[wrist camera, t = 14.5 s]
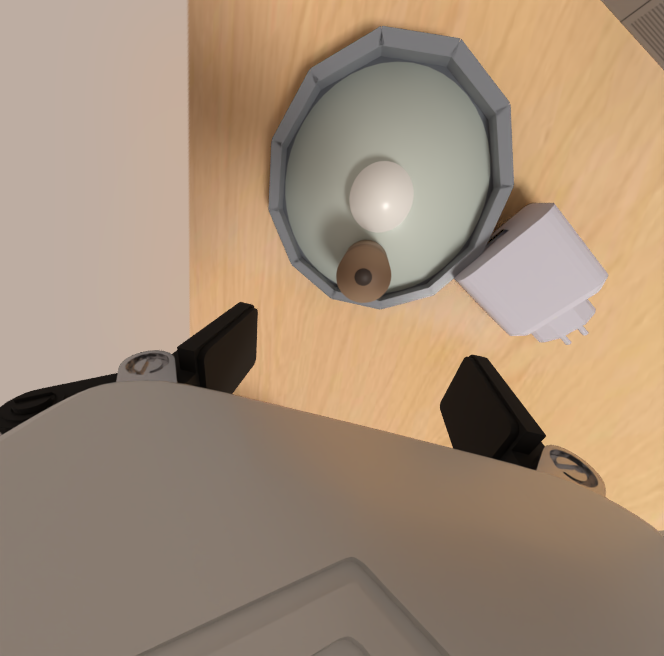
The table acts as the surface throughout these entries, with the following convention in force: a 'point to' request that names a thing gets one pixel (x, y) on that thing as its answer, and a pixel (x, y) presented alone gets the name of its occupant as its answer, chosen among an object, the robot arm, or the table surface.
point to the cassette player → (642, 23)
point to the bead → (364, 272)
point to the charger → (536, 276)
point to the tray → (392, 162)
